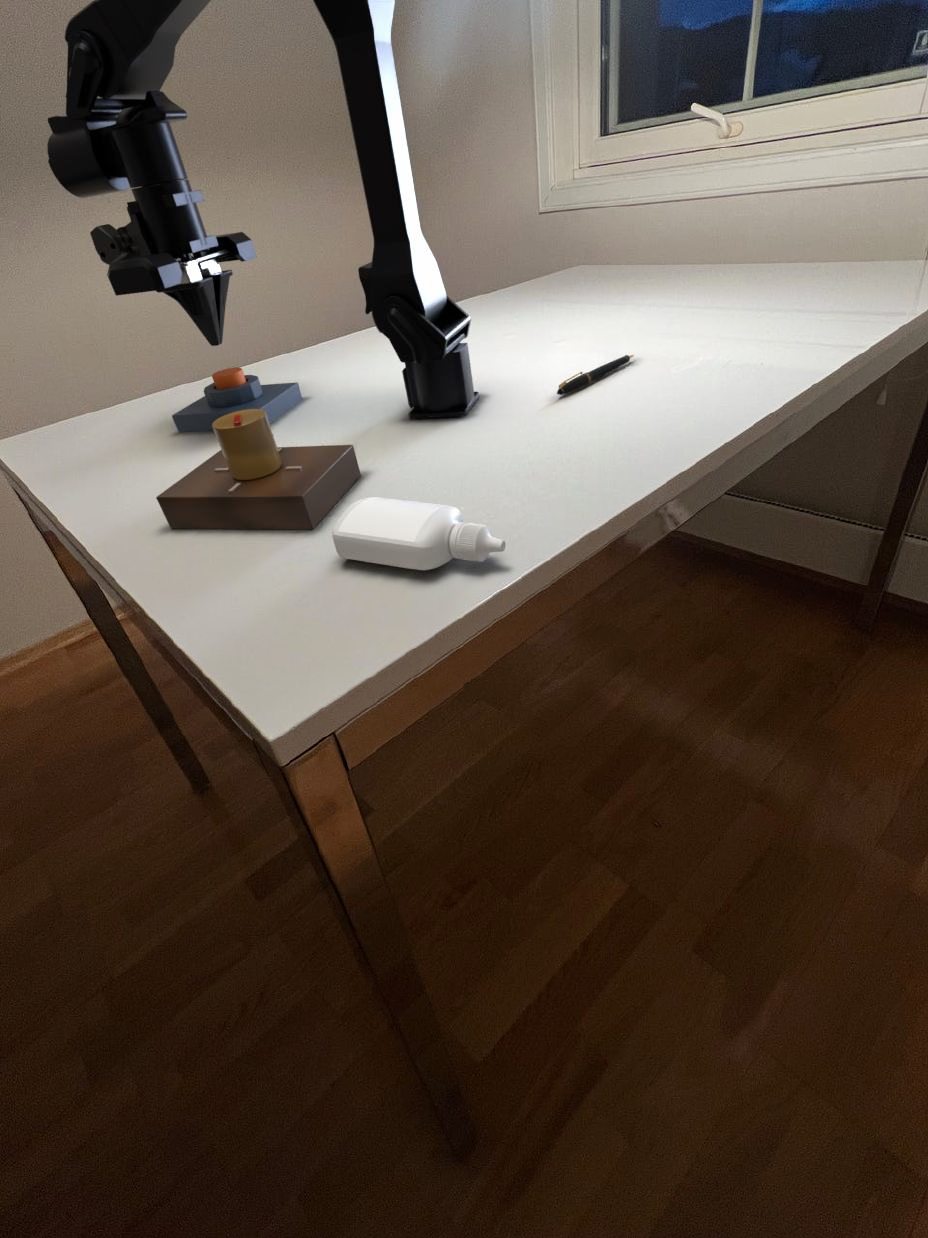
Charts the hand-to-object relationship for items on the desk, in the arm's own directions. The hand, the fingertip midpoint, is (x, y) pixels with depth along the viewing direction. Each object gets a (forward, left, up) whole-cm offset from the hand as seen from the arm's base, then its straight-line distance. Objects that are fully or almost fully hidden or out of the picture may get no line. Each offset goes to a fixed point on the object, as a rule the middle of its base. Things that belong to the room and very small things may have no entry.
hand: (216, 344), depth 74 cm
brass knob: (-17, +23, -5) cm, 29 cm away
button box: (0, 0, -8) cm, 8 cm away
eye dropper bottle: (-29, +30, -7) cm, 43 cm away
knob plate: (-17, +23, -8) cm, 30 cm away
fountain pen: (-43, -6, -9) cm, 44 cm away
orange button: (0, 0, -5) cm, 5 cm away
